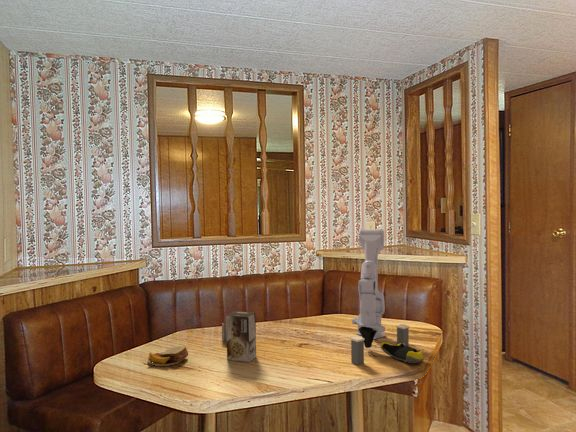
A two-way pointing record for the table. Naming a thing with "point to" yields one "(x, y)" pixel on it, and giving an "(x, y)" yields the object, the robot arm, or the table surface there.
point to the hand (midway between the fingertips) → (368, 347)
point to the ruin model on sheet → (224, 333)
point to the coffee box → (241, 336)
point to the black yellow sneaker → (402, 352)
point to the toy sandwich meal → (168, 356)
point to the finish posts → (358, 342)
